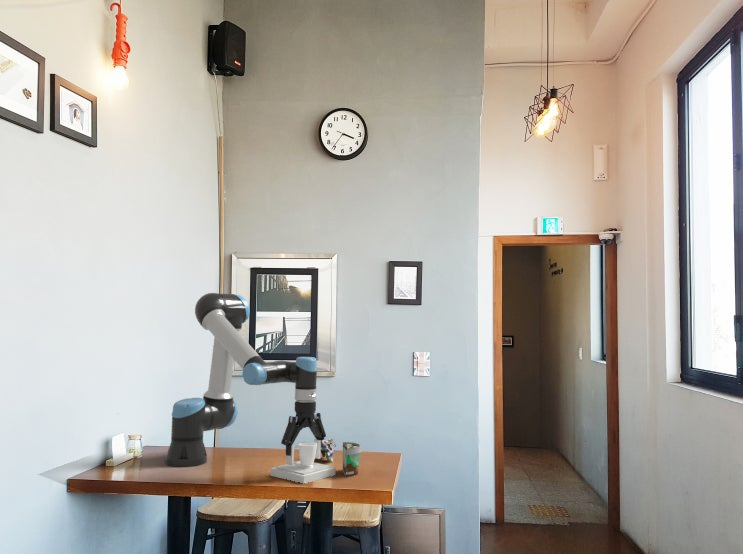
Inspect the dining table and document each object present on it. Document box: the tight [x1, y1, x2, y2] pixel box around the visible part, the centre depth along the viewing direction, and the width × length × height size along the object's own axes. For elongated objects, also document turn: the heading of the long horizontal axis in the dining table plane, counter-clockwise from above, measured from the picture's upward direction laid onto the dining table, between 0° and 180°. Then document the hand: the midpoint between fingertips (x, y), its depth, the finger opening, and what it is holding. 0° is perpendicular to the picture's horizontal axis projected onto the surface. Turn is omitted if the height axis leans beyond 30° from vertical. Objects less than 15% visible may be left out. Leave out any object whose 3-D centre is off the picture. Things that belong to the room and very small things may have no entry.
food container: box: [342, 441, 363, 477], centre depth 216 cm, size 12×6×10 cm, turn 9°
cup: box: [293, 441, 317, 469], centre depth 212 cm, size 7×10×8 cm
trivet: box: [270, 460, 336, 485], centre depth 212 cm, size 16×16×3 cm
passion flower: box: [320, 438, 337, 463], centre depth 234 cm, size 11×11×12 cm
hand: (303, 461), depth 212 cm, fingers open, 13 cm apart
